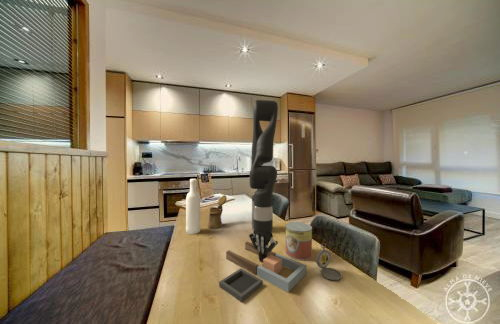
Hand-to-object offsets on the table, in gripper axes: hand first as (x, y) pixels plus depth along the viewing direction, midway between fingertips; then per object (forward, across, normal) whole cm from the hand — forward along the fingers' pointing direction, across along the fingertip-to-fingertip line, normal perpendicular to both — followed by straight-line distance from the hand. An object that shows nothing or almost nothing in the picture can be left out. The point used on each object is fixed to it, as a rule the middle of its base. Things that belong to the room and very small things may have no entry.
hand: (262, 261), depth 72 cm
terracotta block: (+2, -5, 0) cm, 5 cm away
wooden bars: (+2, +6, 0) cm, 6 cm away
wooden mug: (+2, +48, -16) cm, 51 cm away
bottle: (+2, +50, 0) cm, 50 cm away
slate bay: (+2, -8, 0) cm, 8 cm away
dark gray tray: (+2, -2, +14) cm, 14 cm away
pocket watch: (+2, -21, -12) cm, 24 cm away
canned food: (+2, -6, -18) cm, 19 cm away
